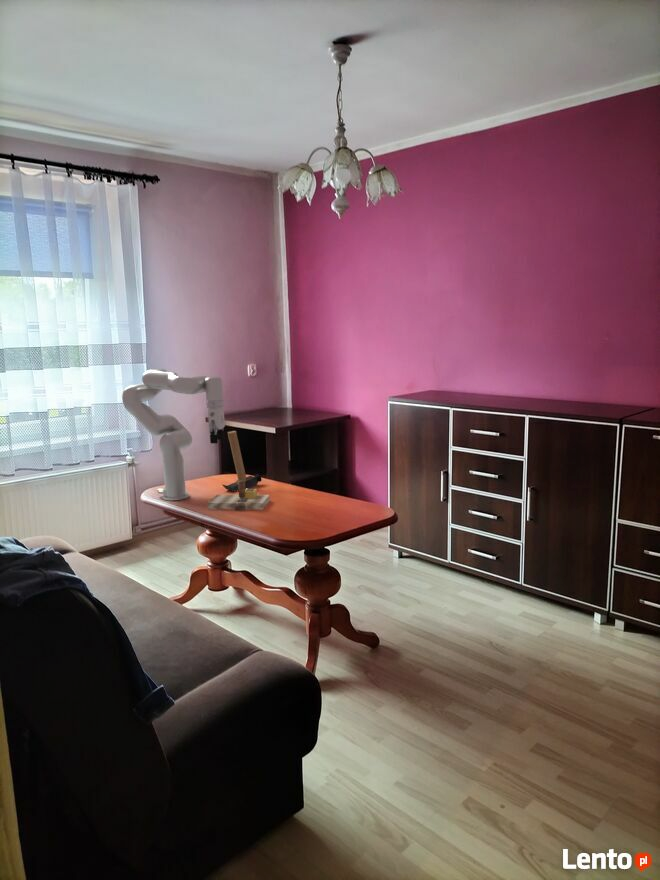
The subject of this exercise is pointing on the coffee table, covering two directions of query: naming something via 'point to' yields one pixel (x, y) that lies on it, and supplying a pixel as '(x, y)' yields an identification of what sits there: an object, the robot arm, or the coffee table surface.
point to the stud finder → (251, 493)
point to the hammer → (240, 466)
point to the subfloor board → (238, 502)
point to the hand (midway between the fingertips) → (217, 441)
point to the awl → (241, 490)
